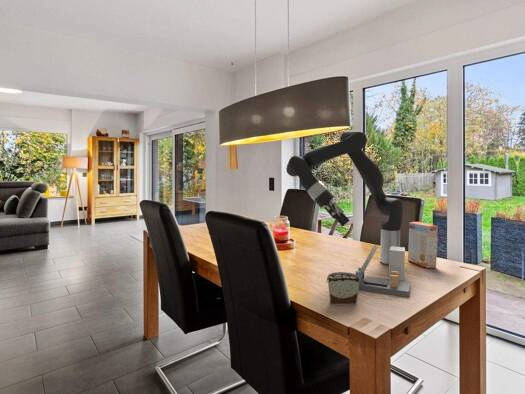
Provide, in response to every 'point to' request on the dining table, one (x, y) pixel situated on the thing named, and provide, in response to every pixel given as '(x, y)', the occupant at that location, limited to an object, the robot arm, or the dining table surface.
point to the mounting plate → (384, 284)
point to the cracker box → (423, 244)
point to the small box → (397, 261)
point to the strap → (368, 259)
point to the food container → (343, 288)
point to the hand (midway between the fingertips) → (346, 223)
